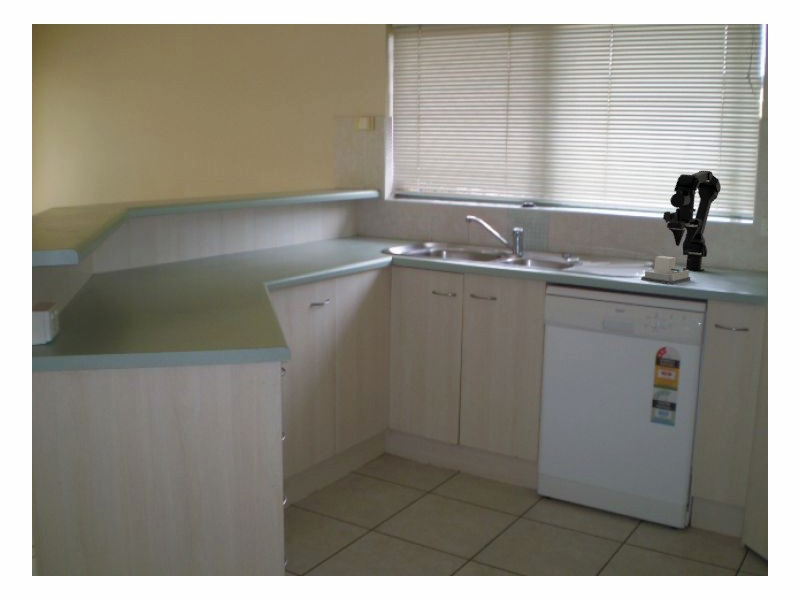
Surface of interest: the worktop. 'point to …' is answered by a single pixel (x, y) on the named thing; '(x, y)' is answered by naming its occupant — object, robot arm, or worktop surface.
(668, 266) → the gauge carriage
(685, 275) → the gauge base
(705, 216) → the robot arm
